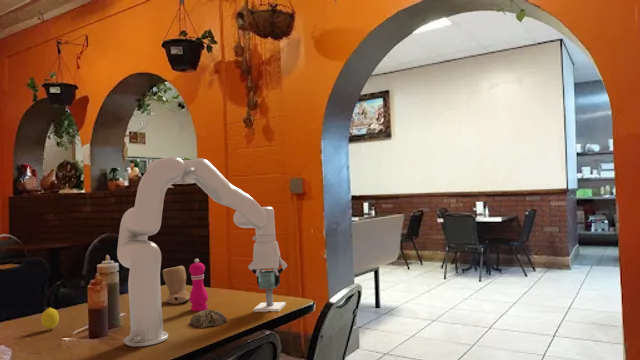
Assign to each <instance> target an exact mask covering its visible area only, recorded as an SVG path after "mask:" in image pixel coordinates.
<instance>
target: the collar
mask: <svg viewBox="0 0 640 360" xmlns="http://www.w3.org/2000/svg"><path fill="white" fill-rule="evenodd" d="M258 280H259V286H258V288H259V290H267V289H272V290H273V289H276V288H278V286H275V272H274V269H262V271H261V272H260V273H258Z"/></svg>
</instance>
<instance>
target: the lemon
mask: <svg viewBox="0 0 640 360" xmlns="http://www.w3.org/2000/svg"><path fill="white" fill-rule="evenodd" d="M40 319H41V321H40V322H41V325H42V326H43V328H45V329H47V330H49V329H50V328H53V329H54V328H55V327H56V326H57V325H58V324H59V320H60V316H59V312H58V311H57V310H56V309H55V308H52V307H48V308H47V309H45V310H44V311H43V312H42V314H41V317H40Z"/></svg>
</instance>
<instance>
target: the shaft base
mask: <svg viewBox="0 0 640 360" xmlns="http://www.w3.org/2000/svg"><path fill="white" fill-rule="evenodd" d="M286 305H287V302H286V301H278V302H277V301H276V302H274V293H273V289H265V302H260V303H259V304H257V305H256V306H255V307H254V308H253V309H252V311H253V312H254V313H256V312H257V313H258V312H259V313H261V312H262V313H263V312H264V313H265V312H268V311H271V312H280V311H281V310H282V309H283V308H284V307H286Z"/></svg>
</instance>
